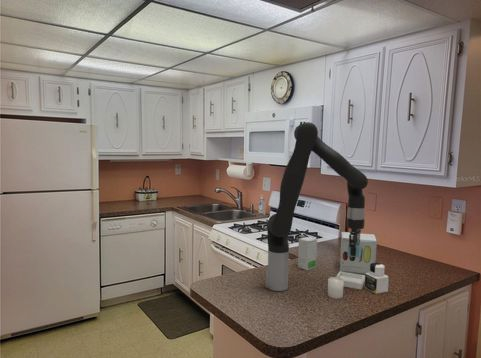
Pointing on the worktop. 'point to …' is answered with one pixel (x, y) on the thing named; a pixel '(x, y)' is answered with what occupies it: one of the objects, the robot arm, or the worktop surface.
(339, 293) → the white rounded dome
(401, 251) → the worktop surface
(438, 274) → the worktop surface
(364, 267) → the supplement box
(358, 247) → the block
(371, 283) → the medicine bottle
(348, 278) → the tray
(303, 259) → the skincare box
